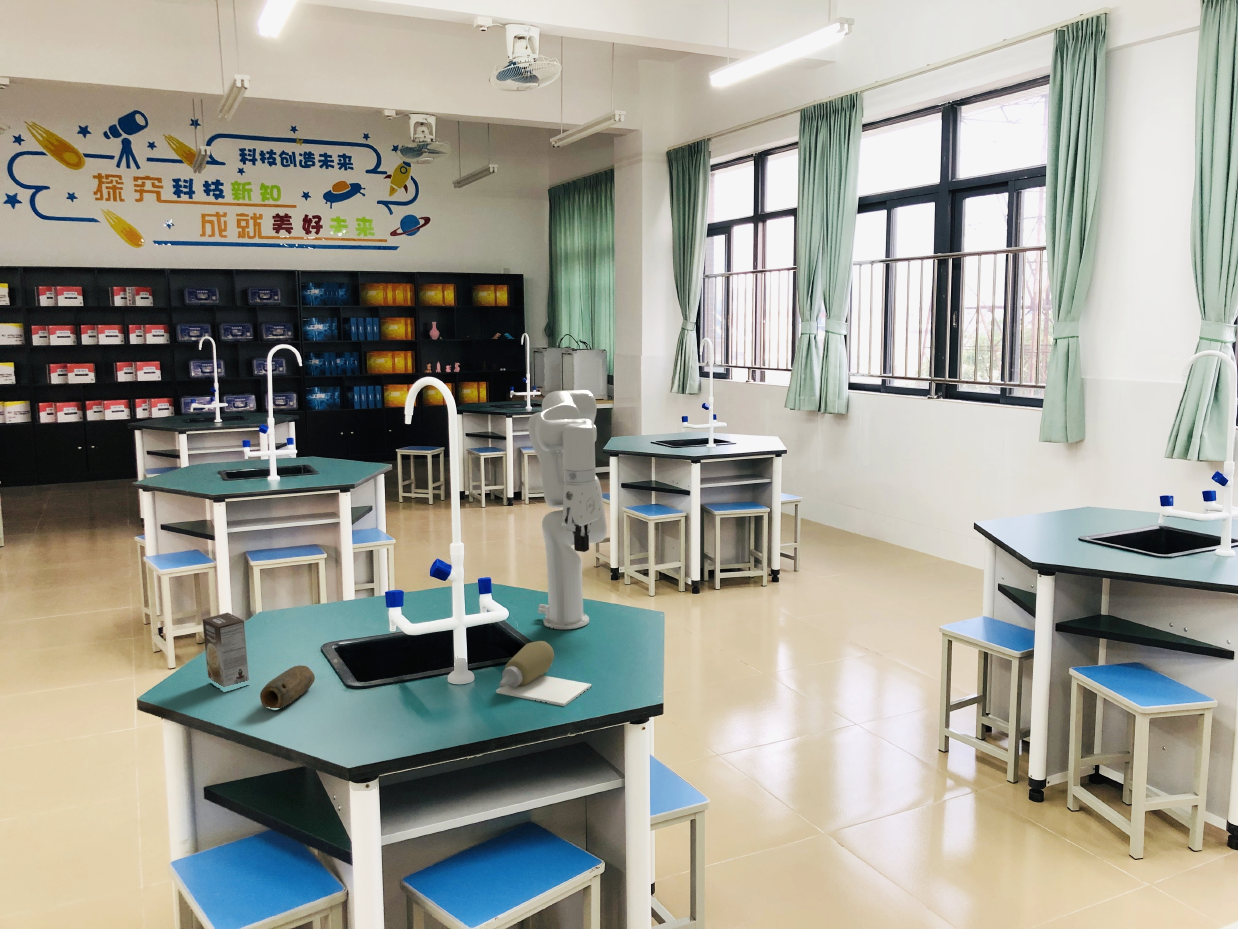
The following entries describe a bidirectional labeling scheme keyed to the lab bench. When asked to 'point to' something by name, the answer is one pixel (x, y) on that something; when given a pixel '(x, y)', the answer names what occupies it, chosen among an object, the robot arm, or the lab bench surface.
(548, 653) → the squeeze bottle
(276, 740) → the lab bench surface
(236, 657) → the coffee box
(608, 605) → the lab bench surface
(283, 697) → the brown hollow cylinder
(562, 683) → the mat
